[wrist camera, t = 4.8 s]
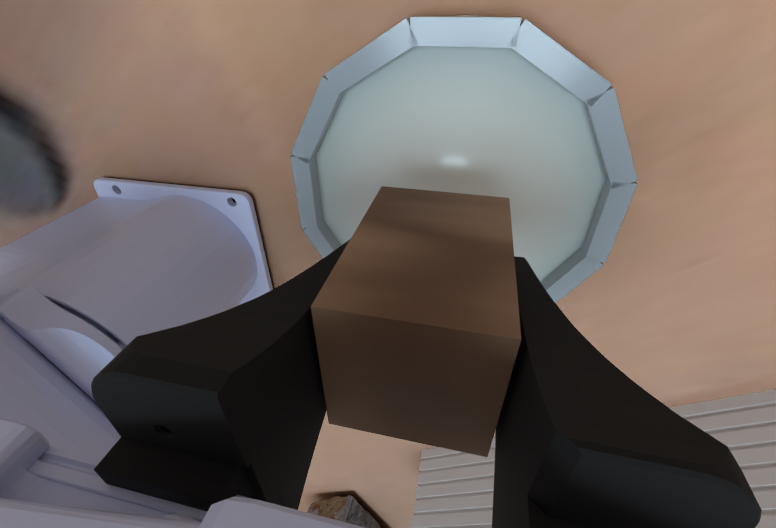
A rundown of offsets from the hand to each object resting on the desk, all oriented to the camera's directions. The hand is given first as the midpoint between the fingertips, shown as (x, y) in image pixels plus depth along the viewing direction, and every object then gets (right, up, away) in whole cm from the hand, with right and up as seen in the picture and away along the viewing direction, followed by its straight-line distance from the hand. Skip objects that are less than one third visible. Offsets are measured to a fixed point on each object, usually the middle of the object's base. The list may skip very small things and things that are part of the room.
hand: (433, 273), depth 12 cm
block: (0, +1, +1) cm, 2 cm away
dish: (+1, +4, +5) cm, 6 cm away
